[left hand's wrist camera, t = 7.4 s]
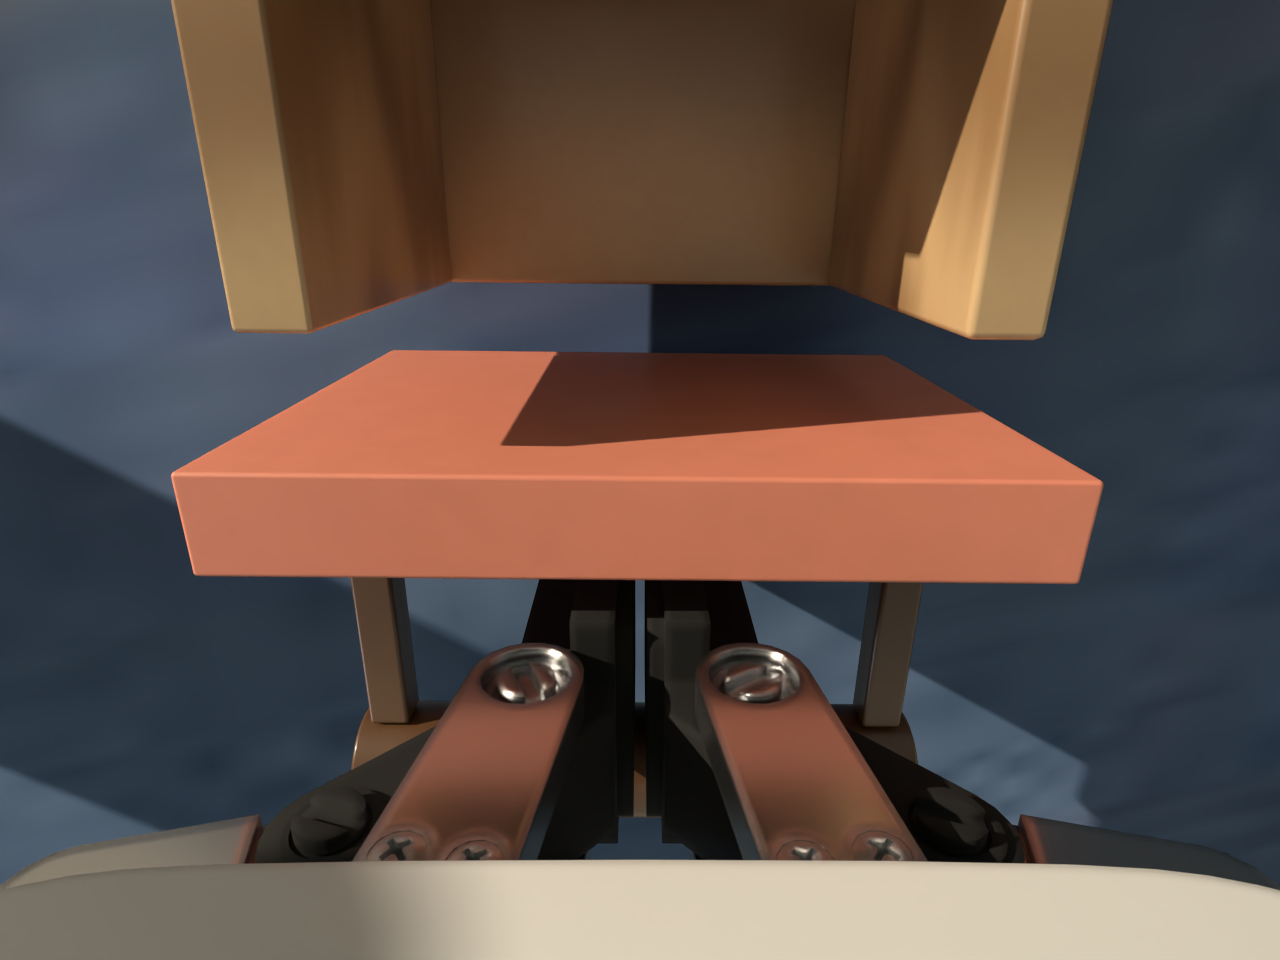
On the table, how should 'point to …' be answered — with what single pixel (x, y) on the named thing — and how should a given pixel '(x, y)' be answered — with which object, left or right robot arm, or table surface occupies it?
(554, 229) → the drawer
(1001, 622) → the table surface
